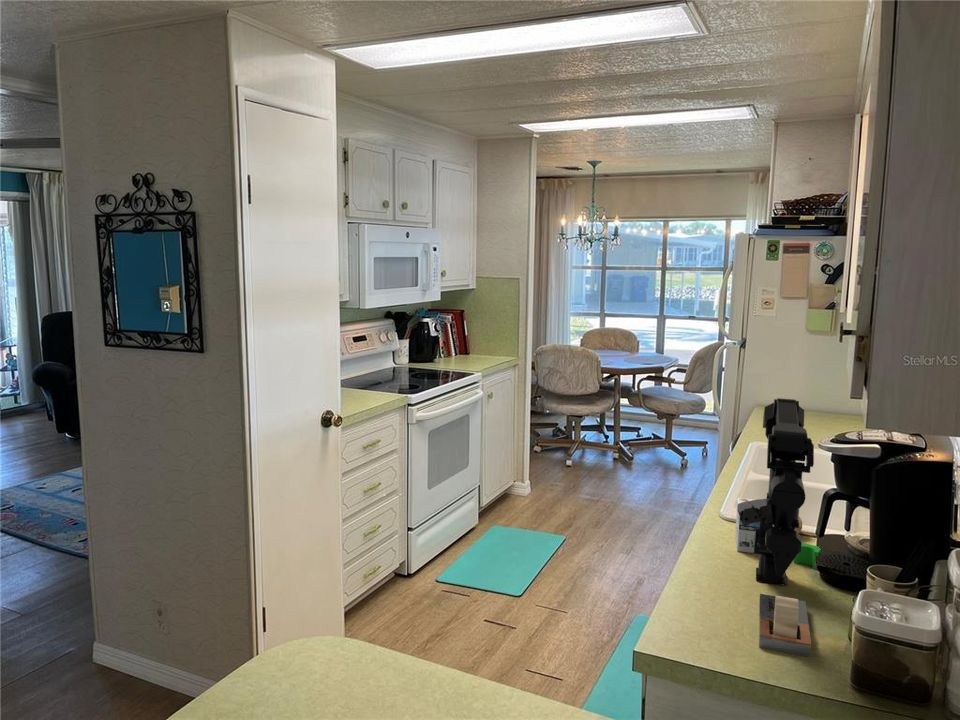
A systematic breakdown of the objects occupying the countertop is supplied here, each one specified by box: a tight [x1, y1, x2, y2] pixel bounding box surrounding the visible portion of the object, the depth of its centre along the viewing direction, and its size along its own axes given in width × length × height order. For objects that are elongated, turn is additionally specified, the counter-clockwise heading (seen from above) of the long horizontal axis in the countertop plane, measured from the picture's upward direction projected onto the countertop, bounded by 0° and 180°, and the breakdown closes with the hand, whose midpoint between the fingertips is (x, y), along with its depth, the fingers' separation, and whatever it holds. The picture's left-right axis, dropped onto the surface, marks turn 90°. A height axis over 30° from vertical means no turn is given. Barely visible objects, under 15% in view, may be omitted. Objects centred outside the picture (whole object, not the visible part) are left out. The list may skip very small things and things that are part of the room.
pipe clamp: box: [793, 541, 821, 570], centre depth 175 cm, size 11×4×5 cm, turn 49°
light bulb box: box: [734, 497, 759, 554], centre depth 185 cm, size 11×7×11 cm, turn 164°
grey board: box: [758, 593, 812, 658], centre depth 146 cm, size 19×9×2 cm, turn 159°
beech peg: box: [772, 595, 799, 639], centre depth 141 cm, size 4×4×8 cm
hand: (778, 565), depth 146 cm, fingers open, 9 cm apart
